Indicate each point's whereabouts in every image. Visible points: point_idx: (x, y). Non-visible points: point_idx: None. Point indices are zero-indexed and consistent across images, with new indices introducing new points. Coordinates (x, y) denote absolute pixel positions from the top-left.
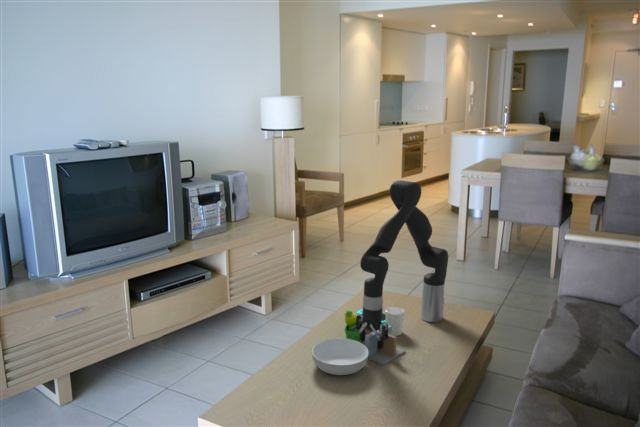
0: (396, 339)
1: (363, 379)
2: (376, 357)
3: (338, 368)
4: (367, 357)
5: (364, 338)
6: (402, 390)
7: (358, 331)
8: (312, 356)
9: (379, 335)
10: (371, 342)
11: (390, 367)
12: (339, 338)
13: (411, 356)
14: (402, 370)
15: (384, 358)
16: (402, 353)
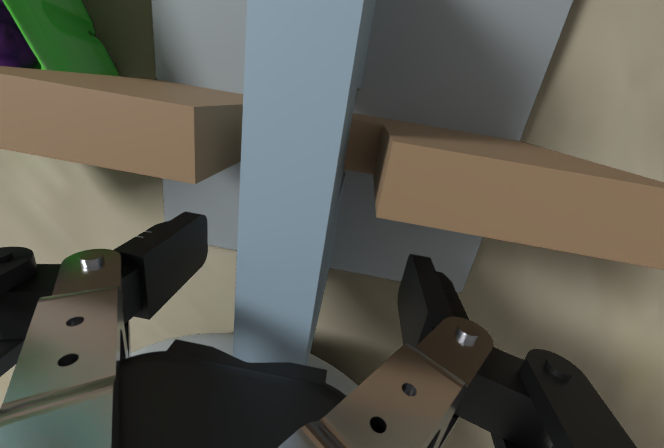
0: (661, 182)
1: None
2: (384, 251)
3: None
4: None
5: (193, 232)
6: (657, 441)
7: (4, 52)
8: None
9: (444, 440)
10: (318, 309)
11: (517, 282)
12: None
13: (659, 3)
14: (615, 273)
15: (445, 232)
16: (558, 23)
